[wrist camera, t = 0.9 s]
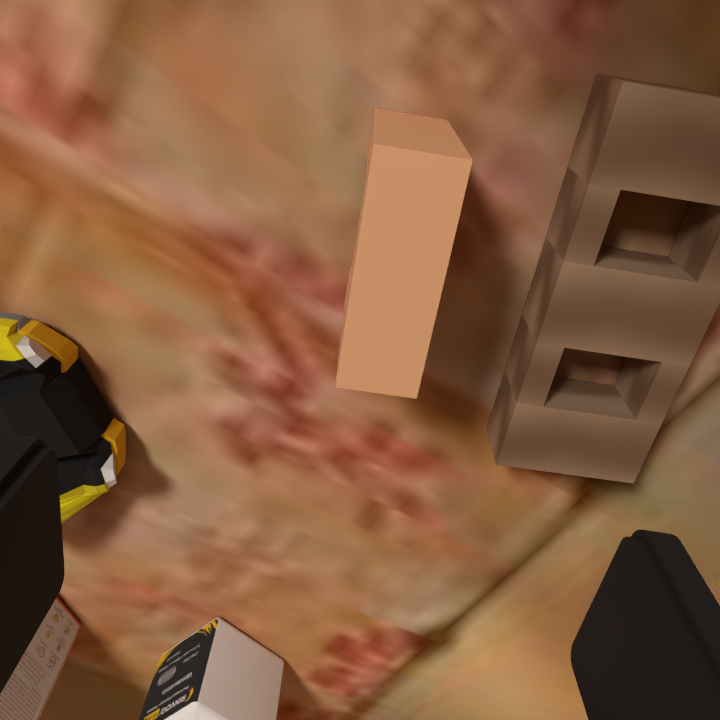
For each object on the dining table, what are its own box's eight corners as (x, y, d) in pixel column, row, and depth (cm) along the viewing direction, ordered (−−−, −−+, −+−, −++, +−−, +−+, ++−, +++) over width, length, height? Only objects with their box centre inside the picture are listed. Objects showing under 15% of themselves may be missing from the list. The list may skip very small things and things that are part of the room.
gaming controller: (28, 507, 43) (161, 476, 41) (-16, 571, 38) (132, 538, 36) (-114, 316, 36) (39, 269, 34) (-190, 364, 31) (-16, 311, 29)
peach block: (374, 107, 29) (373, 143, 22) (447, 120, 30) (472, 160, 22) (344, 300, 34) (335, 386, 26) (407, 310, 34) (416, 398, 27)
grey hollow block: (596, 73, 28) (622, 81, 25) (763, 102, 29) (809, 113, 26) (486, 428, 38) (496, 464, 35) (613, 446, 39) (633, 483, 36)
